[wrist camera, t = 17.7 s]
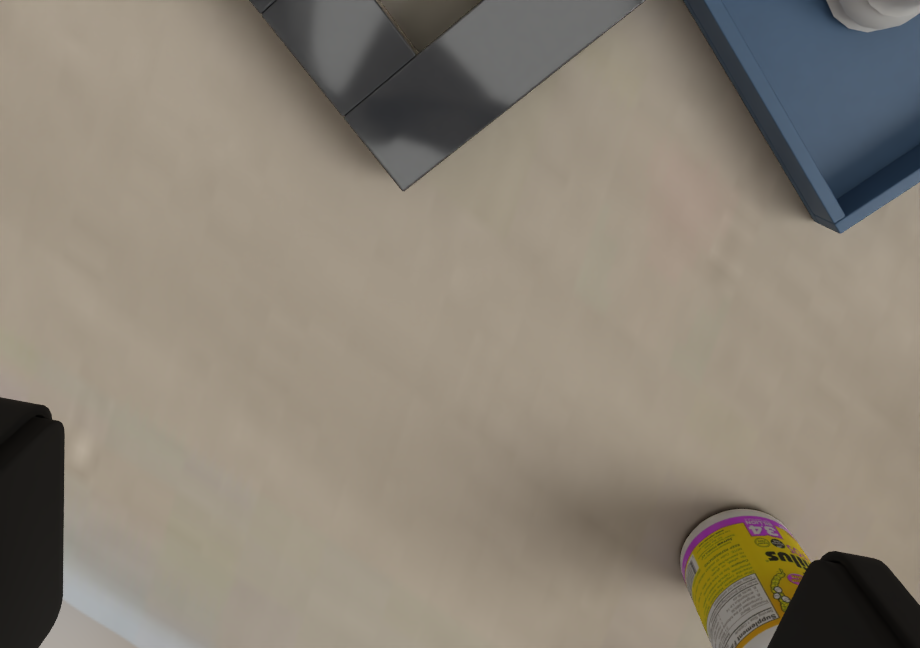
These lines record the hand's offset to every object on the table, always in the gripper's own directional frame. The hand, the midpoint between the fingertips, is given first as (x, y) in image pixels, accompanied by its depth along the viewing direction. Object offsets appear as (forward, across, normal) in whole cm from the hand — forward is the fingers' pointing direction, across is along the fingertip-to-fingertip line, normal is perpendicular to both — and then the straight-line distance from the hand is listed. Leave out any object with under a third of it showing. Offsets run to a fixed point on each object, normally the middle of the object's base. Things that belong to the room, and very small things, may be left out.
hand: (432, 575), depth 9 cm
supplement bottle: (+26, -21, +17) cm, 38 cm away
